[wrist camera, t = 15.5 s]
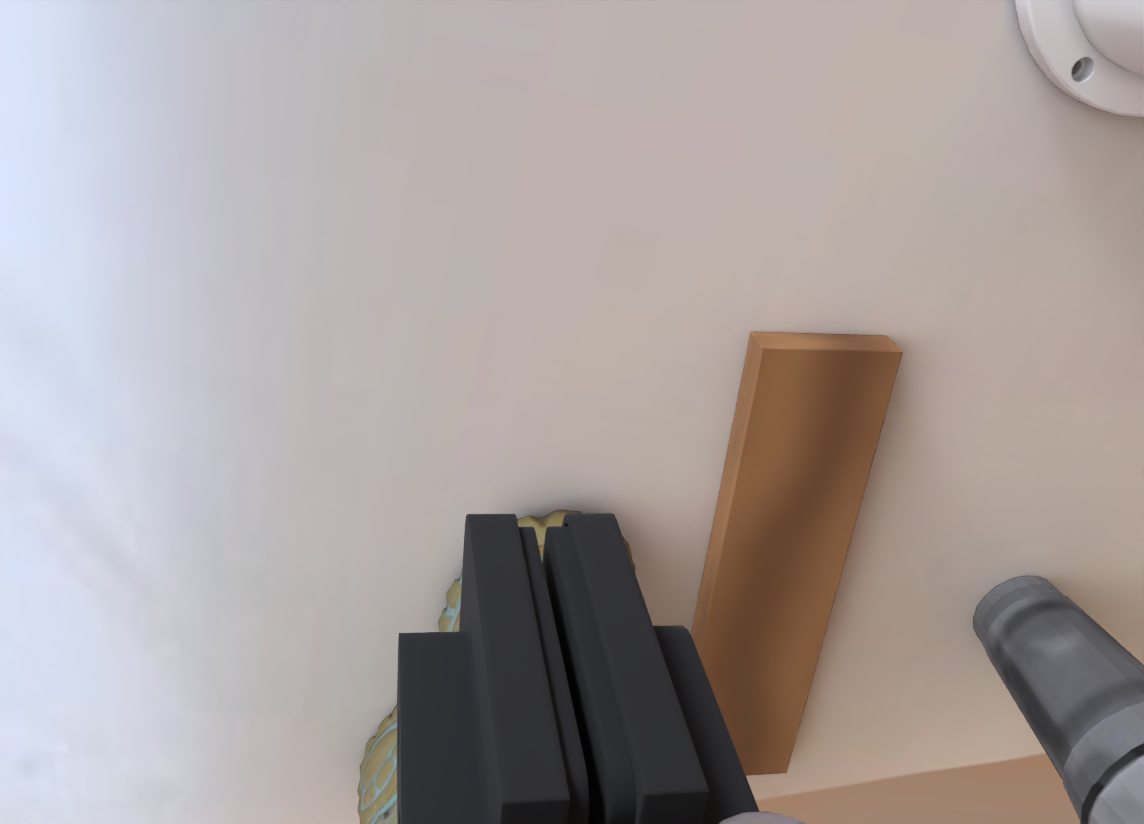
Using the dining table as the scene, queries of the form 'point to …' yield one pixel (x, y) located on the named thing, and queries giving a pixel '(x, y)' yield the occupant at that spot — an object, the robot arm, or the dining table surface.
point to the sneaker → (382, 748)
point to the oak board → (786, 527)
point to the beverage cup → (1071, 694)
